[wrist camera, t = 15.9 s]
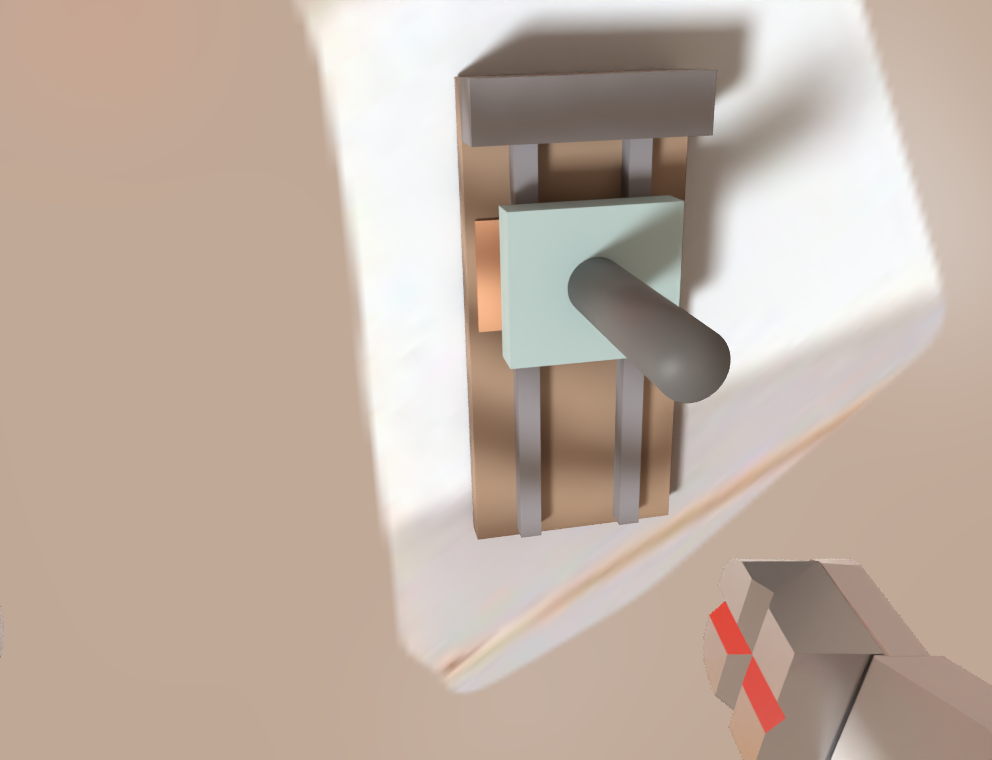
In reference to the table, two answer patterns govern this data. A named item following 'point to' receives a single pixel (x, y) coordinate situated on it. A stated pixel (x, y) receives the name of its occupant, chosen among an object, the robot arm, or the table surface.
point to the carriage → (604, 292)
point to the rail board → (491, 383)
